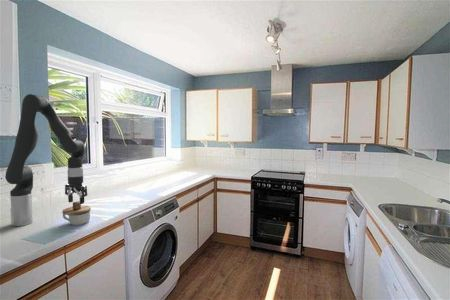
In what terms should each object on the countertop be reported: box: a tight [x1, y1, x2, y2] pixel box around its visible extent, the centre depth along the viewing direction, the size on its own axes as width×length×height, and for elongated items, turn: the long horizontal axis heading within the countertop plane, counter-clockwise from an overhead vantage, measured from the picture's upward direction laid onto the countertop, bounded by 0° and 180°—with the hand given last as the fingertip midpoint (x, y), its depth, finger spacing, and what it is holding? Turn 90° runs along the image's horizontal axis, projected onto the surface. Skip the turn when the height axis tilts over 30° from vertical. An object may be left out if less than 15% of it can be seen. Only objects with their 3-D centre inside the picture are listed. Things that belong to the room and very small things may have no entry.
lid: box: [61, 200, 92, 216], centre depth 137 cm, size 14×14×5 cm
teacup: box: [62, 210, 91, 226], centre depth 137 cm, size 14×11×8 cm
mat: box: [22, 226, 76, 245], centre depth 120 cm, size 16×16×1 cm
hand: (76, 202), depth 136 cm, fingers open, 8 cm apart
